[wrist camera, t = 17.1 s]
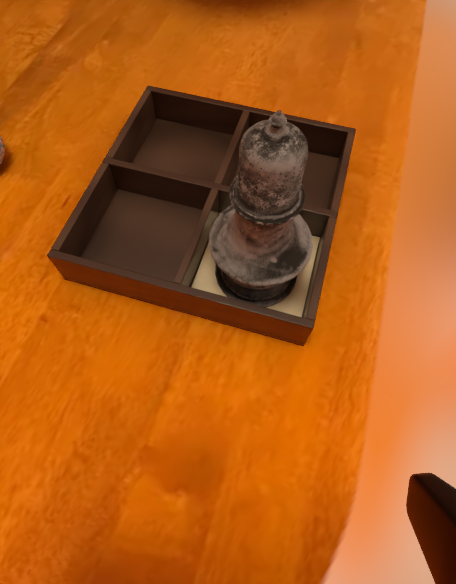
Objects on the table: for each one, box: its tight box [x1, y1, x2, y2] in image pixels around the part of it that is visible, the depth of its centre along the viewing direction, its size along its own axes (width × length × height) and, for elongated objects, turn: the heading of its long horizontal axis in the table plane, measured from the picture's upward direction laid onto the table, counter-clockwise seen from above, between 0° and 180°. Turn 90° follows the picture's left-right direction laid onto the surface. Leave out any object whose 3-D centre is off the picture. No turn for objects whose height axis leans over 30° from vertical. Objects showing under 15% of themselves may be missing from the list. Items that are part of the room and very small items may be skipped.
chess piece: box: [209, 110, 313, 307], centre depth 20 cm, size 6×6×12 cm
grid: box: [47, 86, 356, 346], centre depth 27 cm, size 16×16×3 cm
